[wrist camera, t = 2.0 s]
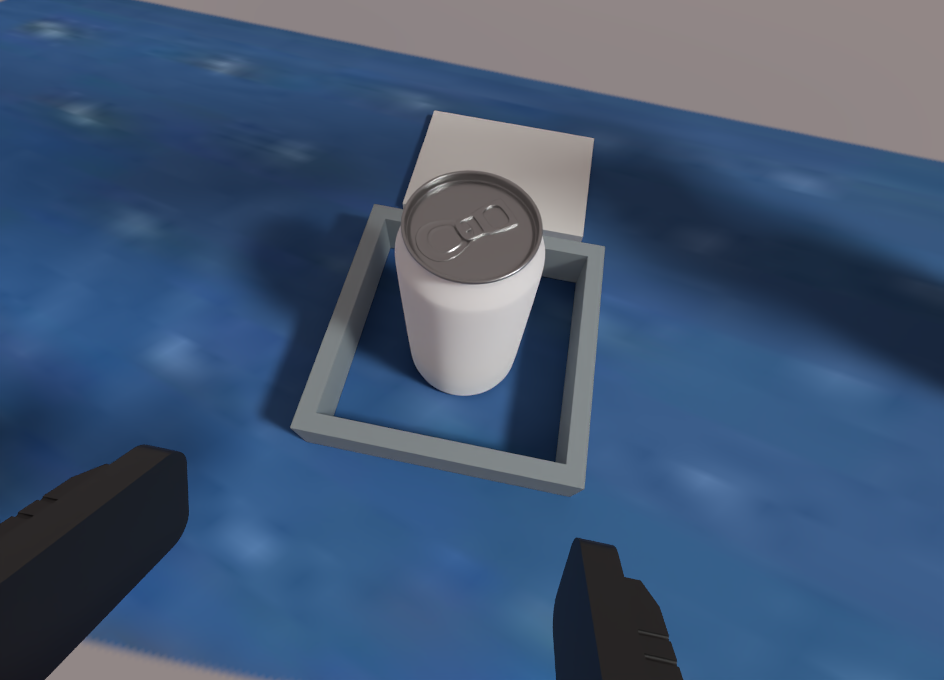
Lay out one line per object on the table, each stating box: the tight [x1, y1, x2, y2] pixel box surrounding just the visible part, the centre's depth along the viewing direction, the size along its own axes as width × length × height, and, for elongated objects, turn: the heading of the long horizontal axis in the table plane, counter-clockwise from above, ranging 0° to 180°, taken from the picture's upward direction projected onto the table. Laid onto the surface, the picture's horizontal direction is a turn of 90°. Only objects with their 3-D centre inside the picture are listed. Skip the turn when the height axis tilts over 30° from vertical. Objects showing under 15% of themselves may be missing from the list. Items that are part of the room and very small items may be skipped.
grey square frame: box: [290, 204, 605, 497], centre depth 28 cm, size 15×15×3 cm
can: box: [395, 170, 545, 396], centre depth 24 cm, size 6×6×12 cm
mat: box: [403, 110, 594, 242], centre depth 35 cm, size 13×10×1 cm
